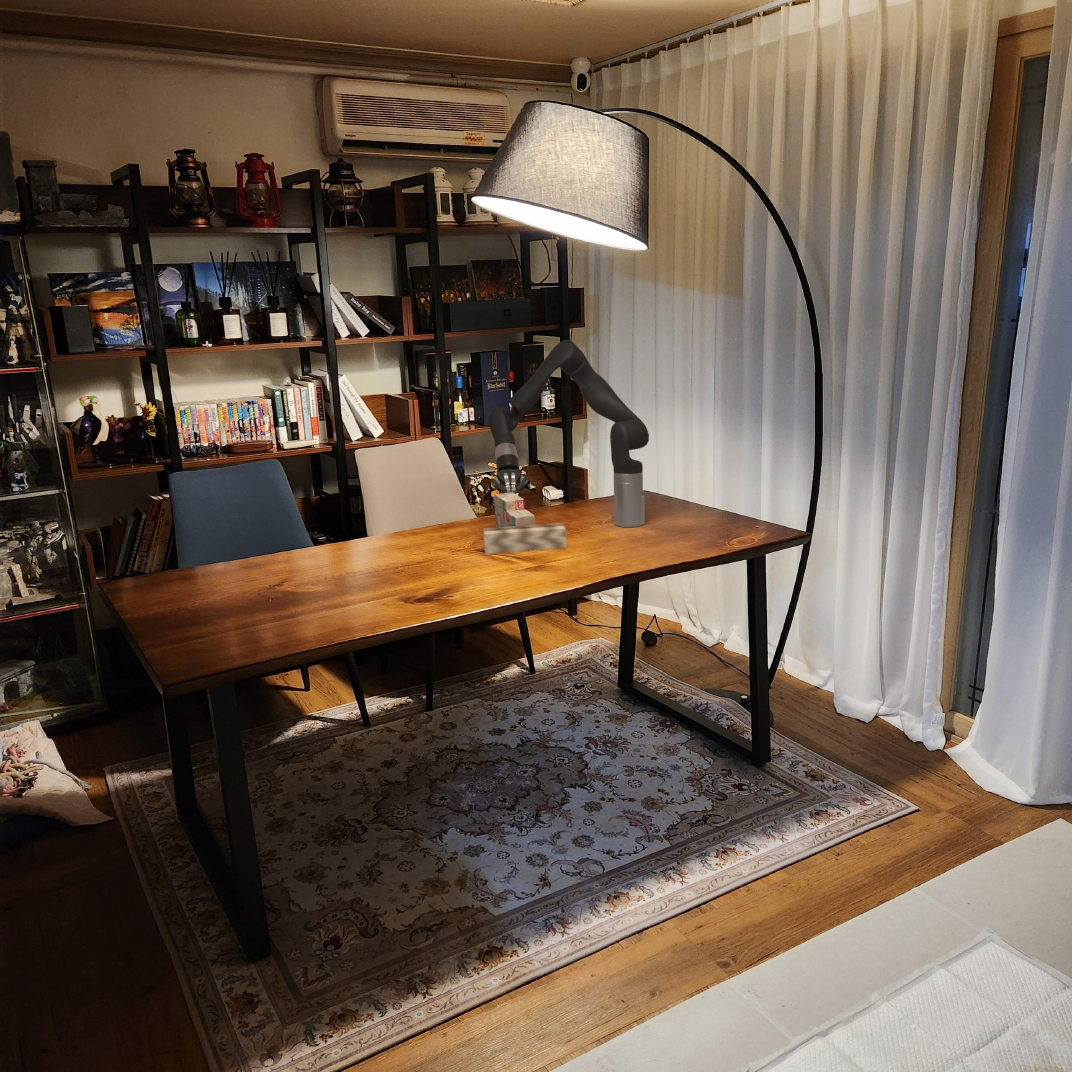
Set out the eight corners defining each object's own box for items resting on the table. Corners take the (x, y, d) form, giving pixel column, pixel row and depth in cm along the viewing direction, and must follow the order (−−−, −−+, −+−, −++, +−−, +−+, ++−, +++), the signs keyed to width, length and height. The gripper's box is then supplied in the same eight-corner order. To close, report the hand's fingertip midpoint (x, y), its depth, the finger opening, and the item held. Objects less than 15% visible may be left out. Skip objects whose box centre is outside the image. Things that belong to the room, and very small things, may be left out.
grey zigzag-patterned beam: (563, 543, 277) (563, 522, 275) (566, 548, 272) (565, 526, 270) (484, 549, 274) (482, 528, 272) (485, 554, 269) (484, 532, 268)
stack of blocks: (535, 545, 277) (534, 505, 274) (516, 547, 275) (514, 507, 272) (514, 528, 297) (512, 491, 293) (495, 531, 295) (493, 493, 291)
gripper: (525, 464, 315) (531, 507, 306) (487, 467, 313) (492, 510, 305) (526, 451, 308) (533, 495, 300) (487, 454, 307) (492, 498, 298)
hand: (512, 502), depth 302 cm, fingers closed
